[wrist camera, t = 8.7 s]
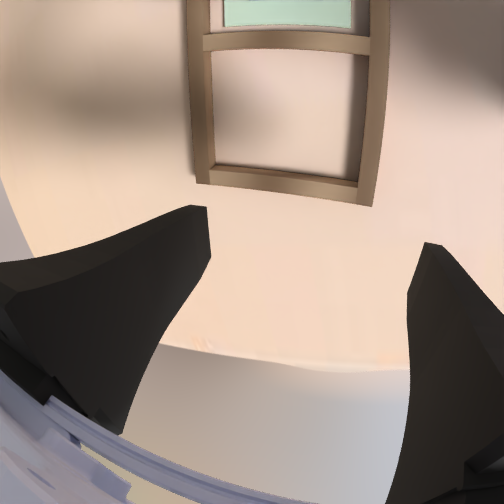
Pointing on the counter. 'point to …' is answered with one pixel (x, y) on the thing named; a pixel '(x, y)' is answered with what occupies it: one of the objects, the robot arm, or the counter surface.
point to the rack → (288, 13)
